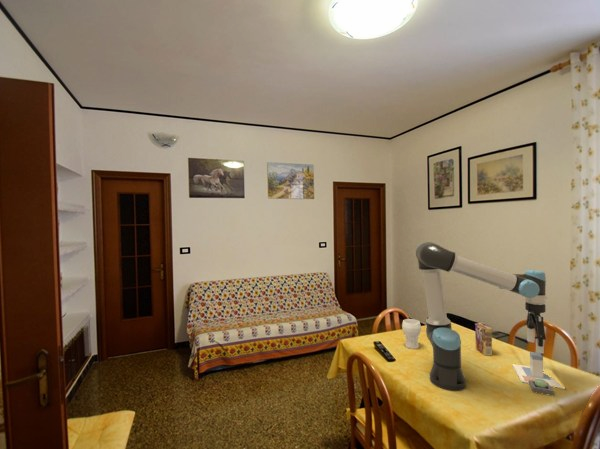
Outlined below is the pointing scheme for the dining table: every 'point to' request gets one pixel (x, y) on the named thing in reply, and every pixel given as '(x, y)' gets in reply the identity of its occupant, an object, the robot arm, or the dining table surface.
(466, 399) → the dining table surface
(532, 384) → the button housing
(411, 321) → the cup
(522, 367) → the picture card
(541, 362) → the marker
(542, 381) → the button
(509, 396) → the dining table surface
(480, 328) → the candy box
